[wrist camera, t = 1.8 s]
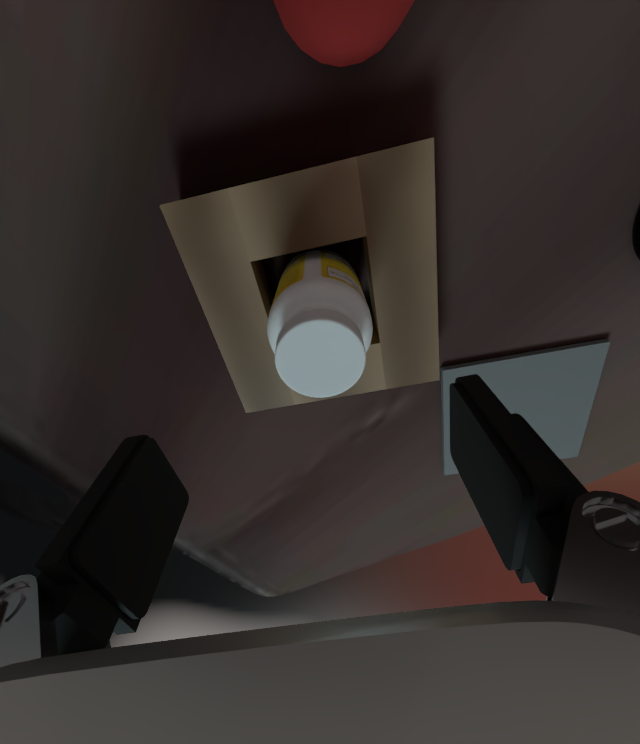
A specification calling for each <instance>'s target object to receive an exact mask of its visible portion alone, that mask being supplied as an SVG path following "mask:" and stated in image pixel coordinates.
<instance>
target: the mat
mask: <svg viewBox="0 0 640 744" xmlns="http://www.w3.org/2000/svg"><path fill="white" fill-rule="evenodd" d="M609 344H610V341H608V340H606V339H601V340H595V341H589V342H583V343H578V344H572V345H566V346H561V347H555V348H549V349H543V350H538V351H532V352H526V353H520V354H515V355H509V356H503V357H497V358H492V359H486V360H480V361H474V362H469V363H463V364H457V365H451V366H446V367H441V404H442V455H443V473H444V475H451V474H458V473H459V472H458V470H457V468H456V466H455V464H454V462H453V460H452V457H451V453H450V391H449V388H450V384H451V383H455V380H456V378H457V377H462V376H468V375H473V374H478V375H479V376H480V377H481V378H482V380H483V381H484V382H485V383H486V384H487V386H488V387H489V388H490V389H491V390H492V392H493V393H494V394H495V395H496V396H497V398H498V399H499V400H500V401H501V402H502V404H503V405H504V406H505V407H506V408H507V410H508V411H509V412H510V413H511V414H514V413H517V414H520V415H521V416H522V417H523V418H524V419H525V420H526V421H527V422H528V423H529V424H530V426H531V427H532V428H533V429H534V430H535V431H536V432H537V434H538V435H539V436H540V437H541V438H542V439H543V440H544V442H545V443H546V444H547V445H548V446H549V447H550V448H551V450H552V451H553V452H554V453H555V454H556V455H557V457H558V458H559V459H565V458H572V457H578V454H579V450H580V447H581V443H582V440H583V436H584V433H585V429H586V426H587V422H588V419H589V415H590V412H591V408H592V404H593V401H594V397H595V394H596V390H597V387H598V383H599V380H600V376H601V373H602V369H603V366H604V362H605V358H606V355H607V351H608V348H609Z"/></svg>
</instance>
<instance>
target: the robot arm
mask: <svg viewBox="0 0 640 744" xmlns="http://www.w3.org/2000/svg"><path fill="white" fill-rule="evenodd" d="M449 391H450V453H451V457H452V460H453V462H454V464H455V466H456V468H457V470H458V472H459V474H460V476H461V478H462V480H463V482H464V484H465V486H466V488H467V490H468V492H469V494H470V496H471V498H472V500H473V502H474V504H475V506H476V508H477V510H478V513H479V515H480V517H481V519H482V521H483V523H484V525H485V527H486V529H487V531H488V533H489V535H490V537H491V539H492V541H493V543H494V545H495V547H496V549H497V551H498V553H499V555H500V557H501V559H502V561H503V563H504V565H505V567H506V568H507V569H508V570H515V572H516V574H517V576H518V578H519V580H520V581H521V583H530V582H535V583H536V585H537V586H538V588H539V590H540V592H541V593H543V594H544V595H546V596H547V600H546V601H516V602H495V603H486V604H475V605H465V606H454V607H446V608H445V607H444V608H434V609H424V610H416V611H407V612H399V613H390V614H382V615H374V616H364V617H356V618H347V619H339V620H330V621H322V622H313V623H306V624H297V625H289V626H280V627H273V628H264V629H256V630H248V631H240V632H232V633H223V634H215V635H207V636H199V637H191V638H184V639H176V640H168V641H161V642H152V643H145V644H138V645H129V646H122V647H114V648H111V646H110V641H109V639H110V637H111V635H112V633H113V632H115V633H116V634H117V635H118V634H126V633H134V632H136V630H137V627H138V625H139V622H140V620H141V618H142V617H144V616H145V614H146V613H147V611H148V608H149V606H150V603H151V600H152V597H153V595H154V592H155V590H156V587H157V585H158V582H159V579H160V577H161V574H162V571H163V568H164V566H165V563H166V560H167V558H168V555H169V552H170V550H171V547H172V545H173V542H174V539H175V537H176V534H177V531H178V529H179V526H180V524H181V521H182V518H183V516H184V513H185V510H186V508H187V505H188V501H189V496H188V492H187V491H186V489H185V487H184V486H183V484H182V483H181V481H180V479H179V478H178V476H177V475H176V473H175V471H174V470H173V468H172V467H171V465H170V463H169V462H168V460H167V459H166V457H165V456H164V454H163V452H162V451H161V449H160V448H159V446H158V444H157V443H156V441H155V440H154V439H152V438H150V437H149V436H147V435H139V436H134V437H128V438H126V439H124V440H123V442H122V443H121V444H120V446H119V447H118V449H117V450H116V451H115V453H114V454H113V456H112V457H111V459H110V460H109V461H108V463H107V464H106V466H105V467H104V468H103V470H102V471H101V473H100V474H99V475H98V477H97V478H96V480H95V481H94V482H93V484H92V485H91V487H90V488H89V489H88V491H87V492H86V494H85V495H84V497H83V498H82V499H81V501H80V502H79V504H78V505H77V506H76V508H75V509H74V511H73V512H72V513H71V515H70V516H69V518H68V519H67V520H66V522H65V523H64V525H63V526H62V527H61V529H60V530H59V532H58V533H57V535H56V536H55V537H54V539H53V540H52V542H51V543H50V545H49V546H48V547H47V549H46V550H45V552H44V553H43V554H42V556H41V557H40V559H39V560H38V561H37V563H36V564H35V566H36V567H37V568H38V569H39V570H40V571H41V573H40V575H39V576H38V578H36V577H34V576H32V575H22V576H19V577H16V578H13V579H11V580H10V581H8V582H6V583H4V584H3V585H1V586H0V744H640V502H638V501H636V500H634V499H632V498H629V497H627V496H624V495H622V494H617V493H613V492H608V491H592V492H588V491H587V490H586V489H585V487H584V486H583V485H582V484H581V483H580V482H579V481H578V479H577V478H576V477H575V476H574V475H573V474H572V473H571V471H570V470H569V469H568V468H567V467H566V466H565V465H564V463H563V462H562V461H561V460H560V459H559V458H558V457H557V455H556V454H555V453H554V452H553V451H552V450H551V448H550V447H549V446H548V445H547V444H546V443H545V442H544V440H543V439H542V438H541V437H540V436H539V435H538V434H537V432H536V431H535V430H534V429H533V428H532V427H531V426H530V424H529V423H528V422H527V421H526V420H525V419H524V418H523V417H522V416H521V415H520V414H517V413H514V414H511V413H510V412H509V411H508V410H507V408H506V407H505V406H504V405H503V404H502V402H501V401H500V400H499V399H498V398H497V396H496V395H495V394H494V393H493V392H492V390H491V389H490V388H489V387H488V386H487V384H486V383H485V382H484V381H483V380H482V378H481V377H480V376H479V375H478V374H473V375H468V376H462V377H457V378H456V380H455V383H451V384H450V388H449Z"/></svg>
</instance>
